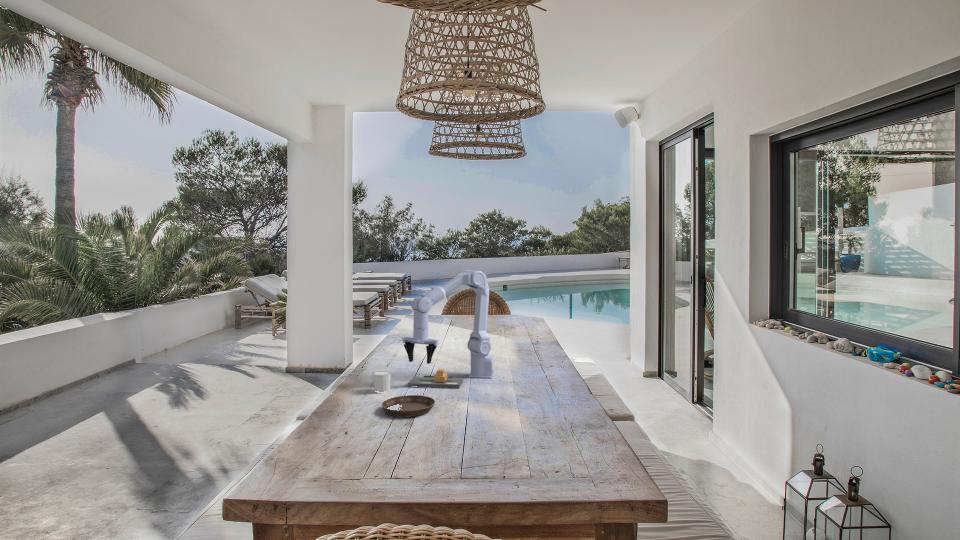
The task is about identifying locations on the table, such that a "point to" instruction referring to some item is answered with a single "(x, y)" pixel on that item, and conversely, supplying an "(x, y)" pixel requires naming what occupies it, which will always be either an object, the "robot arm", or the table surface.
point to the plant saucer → (409, 405)
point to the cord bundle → (433, 376)
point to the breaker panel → (430, 382)
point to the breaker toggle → (440, 376)
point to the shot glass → (382, 381)
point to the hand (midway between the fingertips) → (419, 362)
